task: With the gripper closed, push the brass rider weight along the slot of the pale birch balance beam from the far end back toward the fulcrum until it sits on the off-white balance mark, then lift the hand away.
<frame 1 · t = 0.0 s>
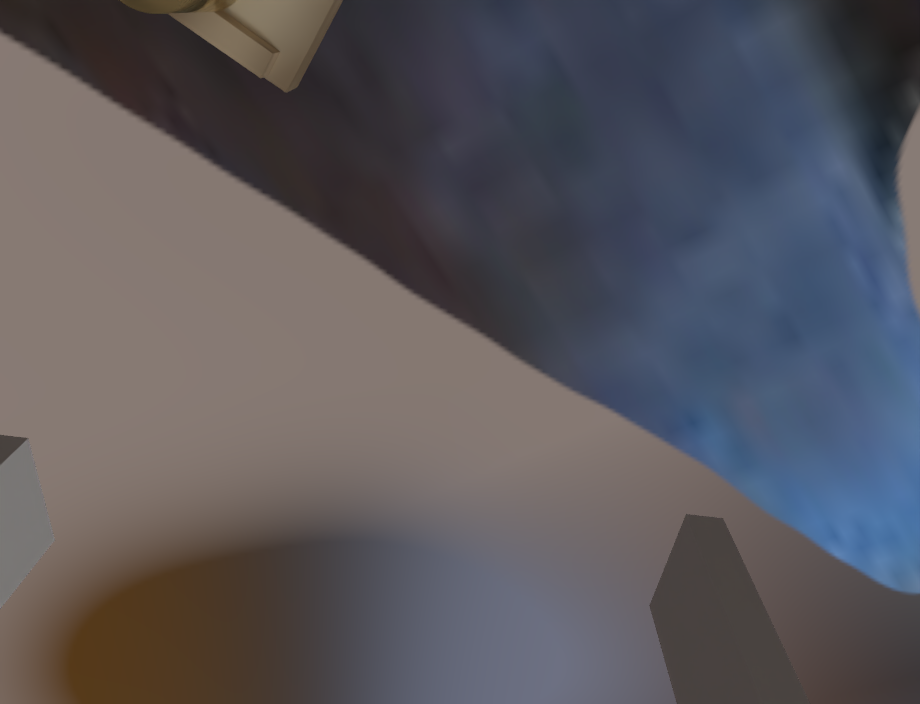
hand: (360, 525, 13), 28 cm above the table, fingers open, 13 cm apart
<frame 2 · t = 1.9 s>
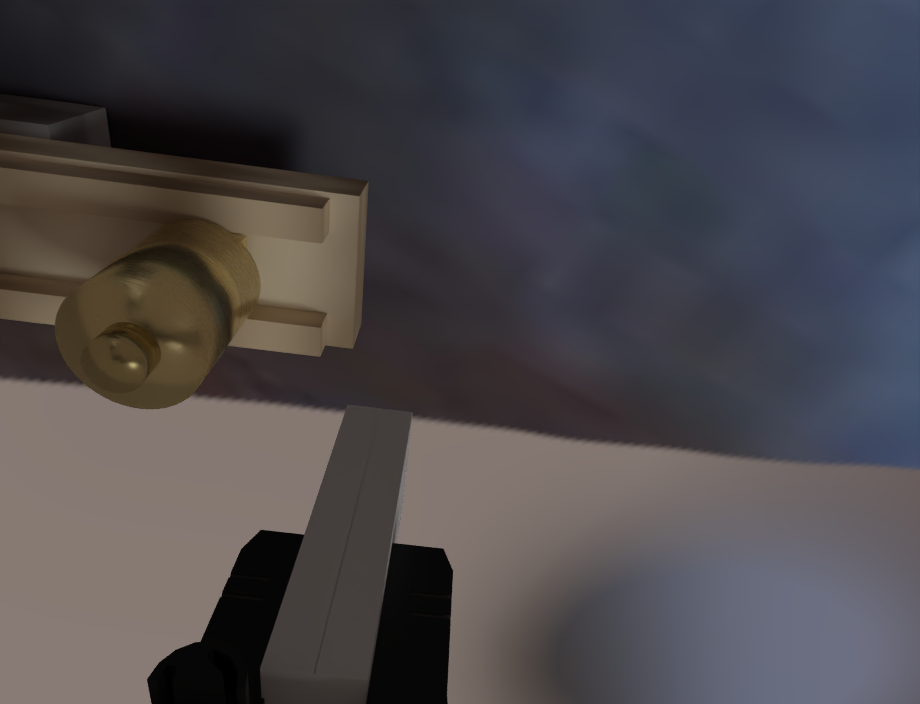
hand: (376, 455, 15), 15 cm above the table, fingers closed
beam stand: (59, 183, 28), on the table
rider: (171, 306, 19), point 10 cm above the table, slide at 9.0 cm
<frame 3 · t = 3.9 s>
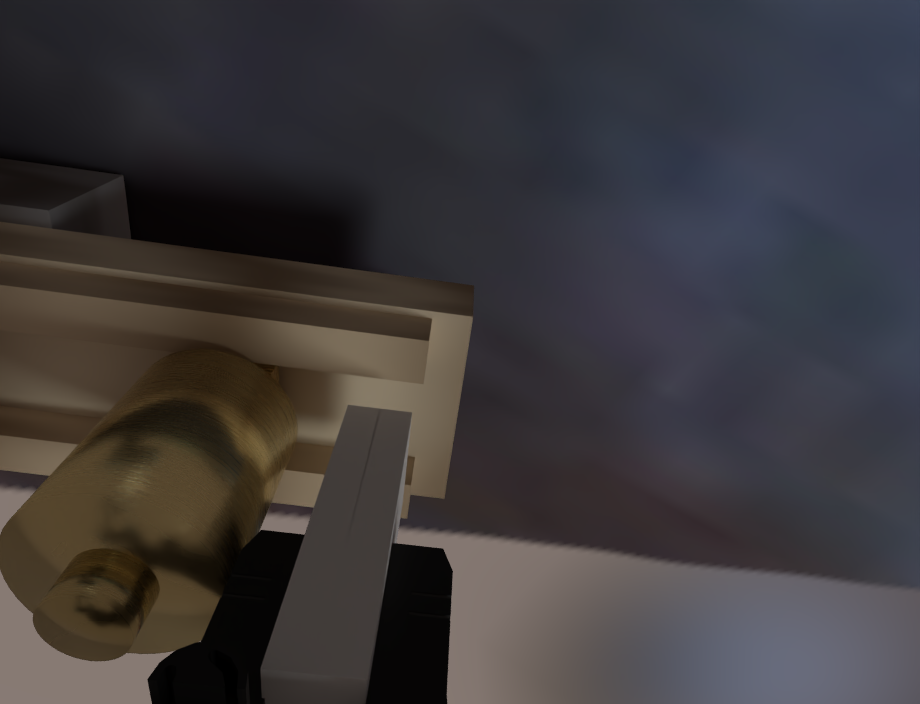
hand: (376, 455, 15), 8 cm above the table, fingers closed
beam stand: (63, 266, 22), on the table
rider: (176, 484, 13), point 10 cm above the table, slide at 8.0 cm, touching gripper
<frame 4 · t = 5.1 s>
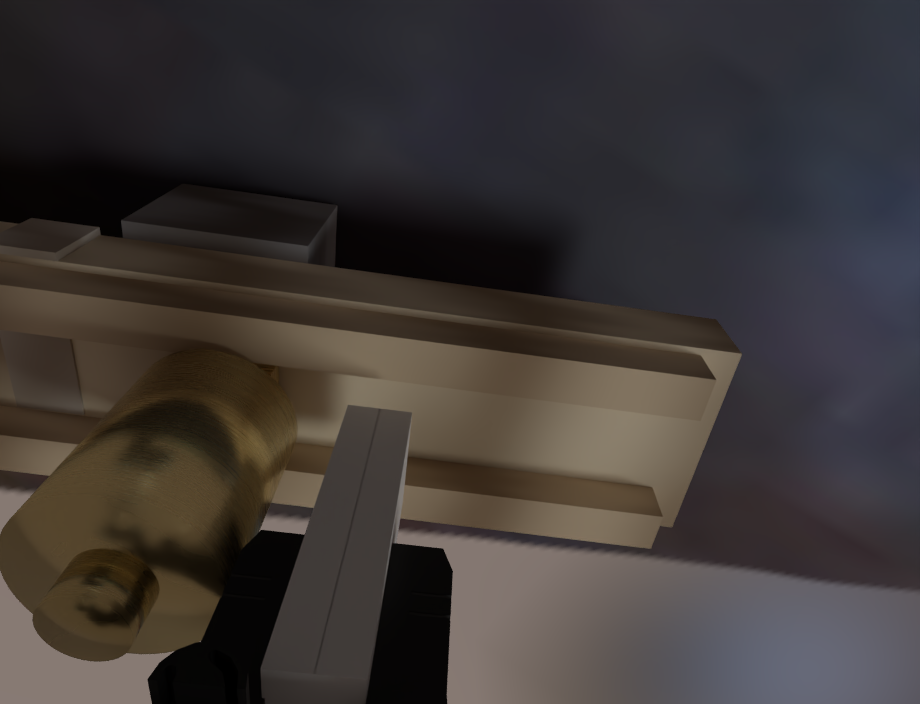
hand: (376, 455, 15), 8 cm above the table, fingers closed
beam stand: (262, 292, 22), on the table
rider: (175, 484, 13), point 10 cm above the table, slide at 1.1 cm, touching gripper
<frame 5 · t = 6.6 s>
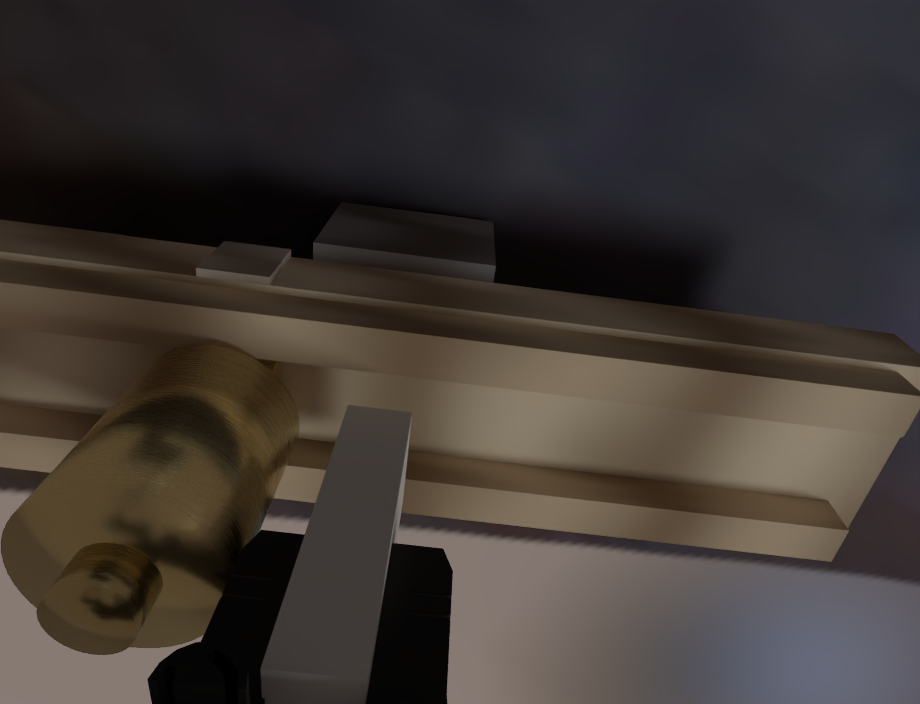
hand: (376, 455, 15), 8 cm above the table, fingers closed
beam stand: (408, 308, 22), on the table
rider: (178, 479, 14), point 10 cm above the table, slide at -4.0 cm, touching gripper
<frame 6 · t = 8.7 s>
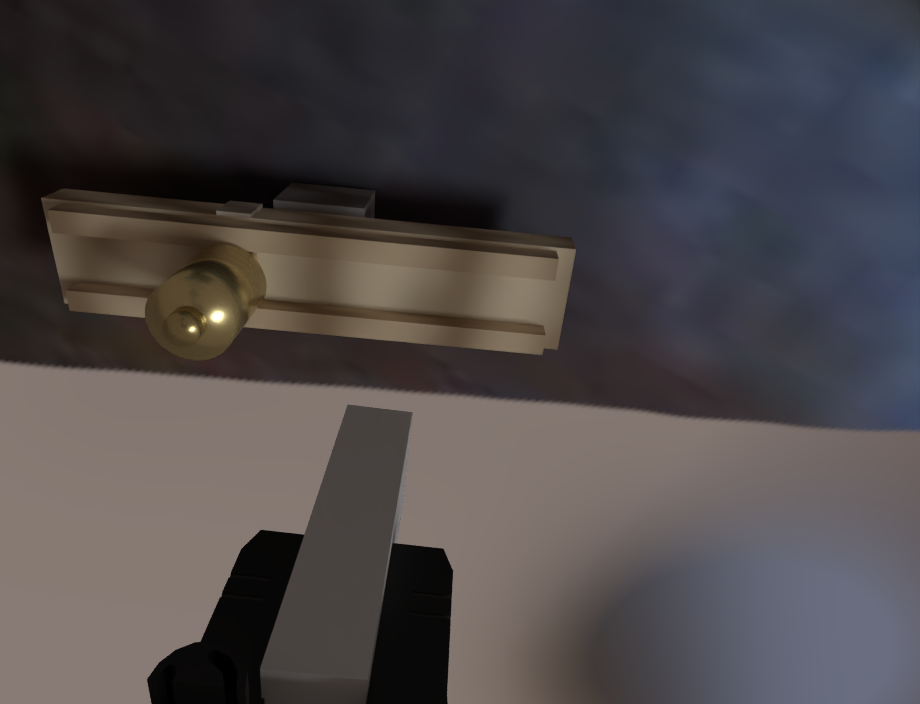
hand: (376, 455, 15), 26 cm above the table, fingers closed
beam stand: (334, 242, 40), on the table
rider: (211, 299, 31), point 10 cm above the table, slide at -4.0 cm
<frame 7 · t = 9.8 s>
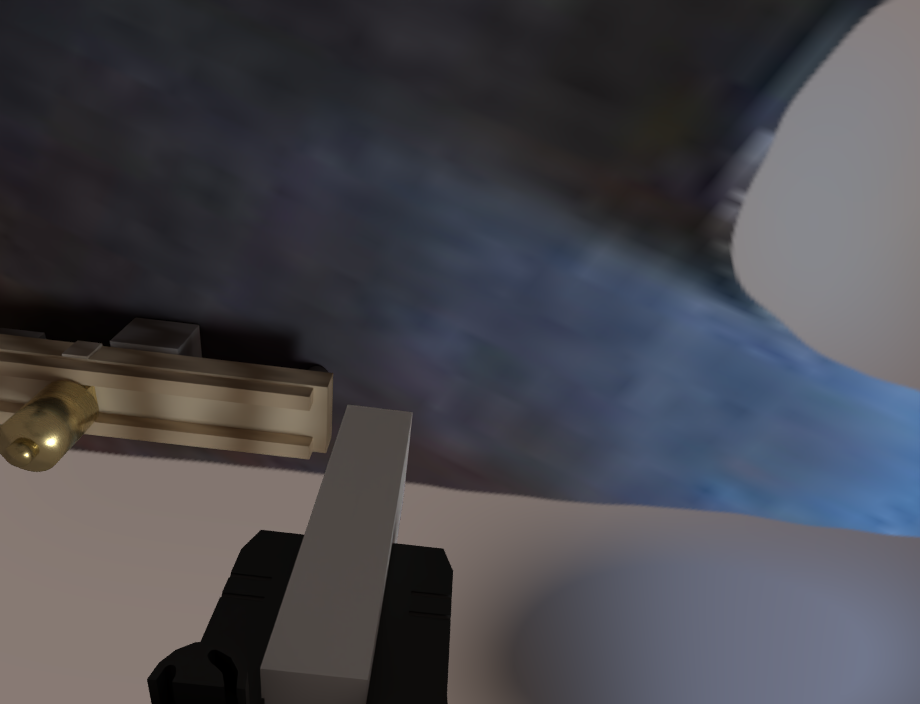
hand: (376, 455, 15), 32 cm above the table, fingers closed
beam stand: (171, 359, 52), on the table
rider: (50, 423, 43), point 10 cm above the table, slide at -4.0 cm
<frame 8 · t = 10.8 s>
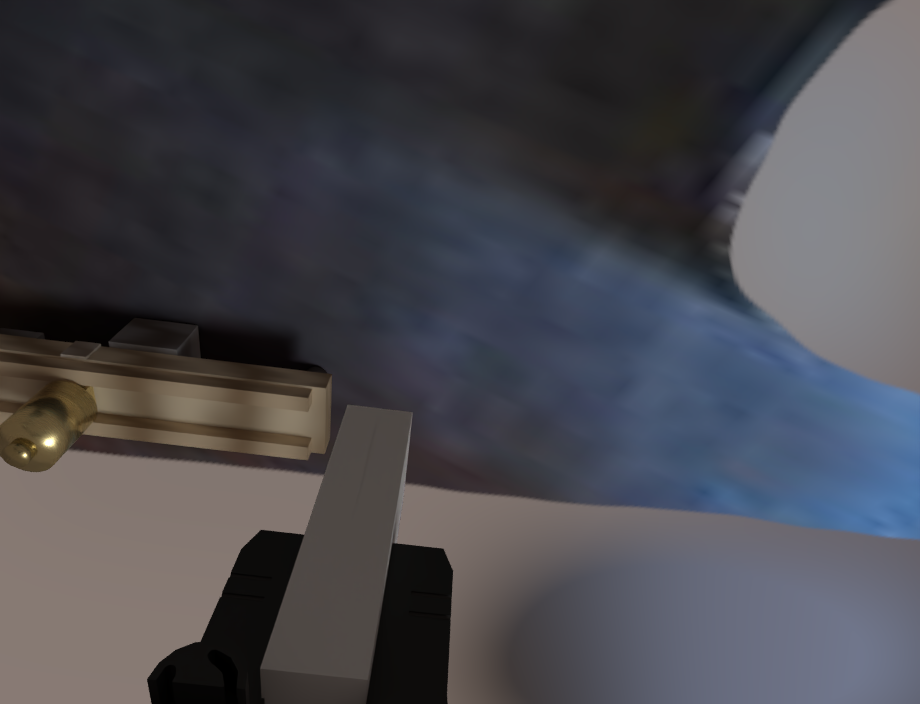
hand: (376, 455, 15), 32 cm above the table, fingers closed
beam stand: (170, 359, 52), on the table
rider: (48, 424, 43), point 10 cm above the table, slide at -4.0 cm
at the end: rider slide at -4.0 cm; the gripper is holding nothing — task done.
